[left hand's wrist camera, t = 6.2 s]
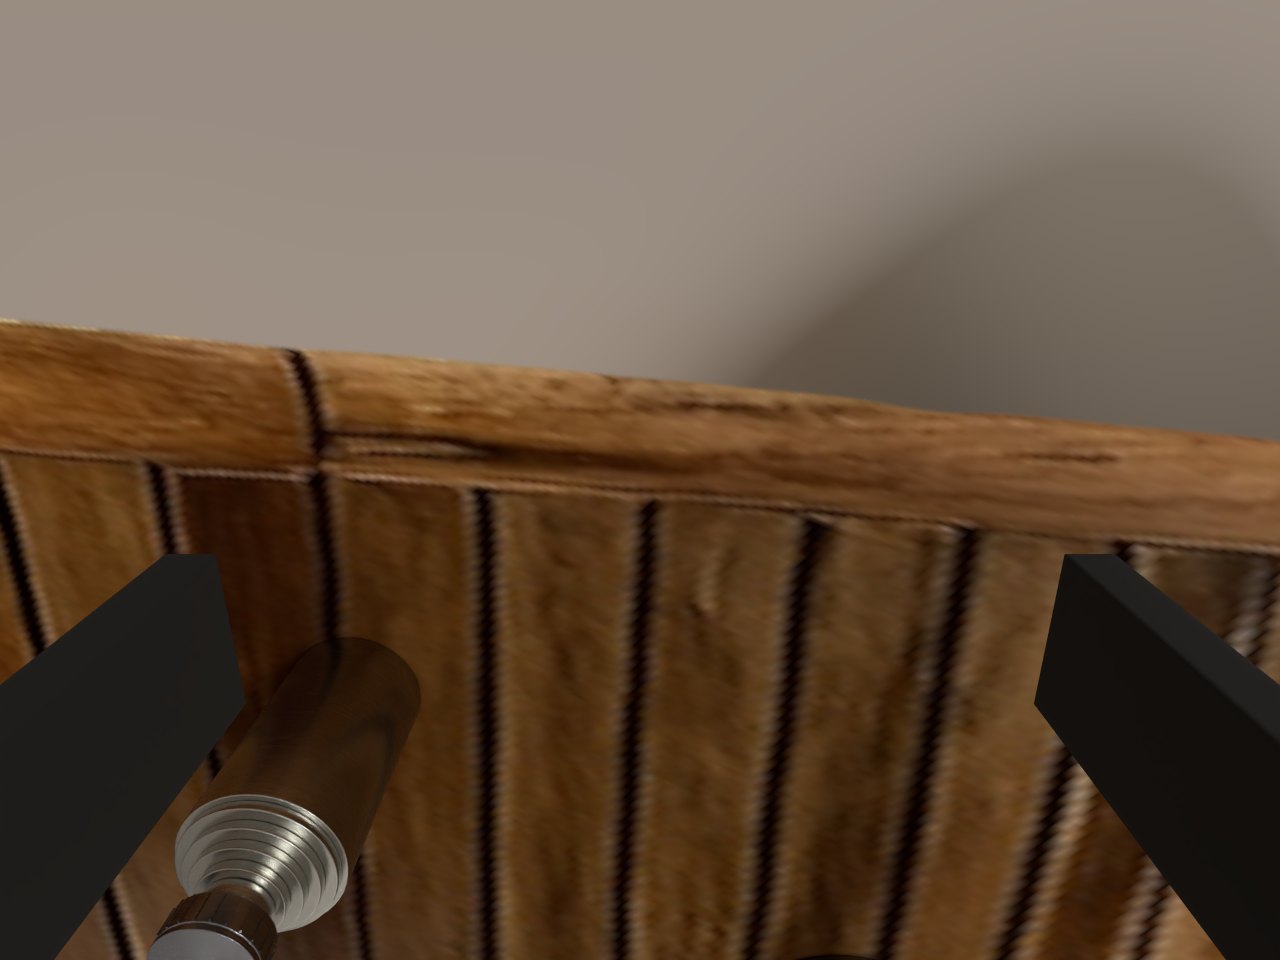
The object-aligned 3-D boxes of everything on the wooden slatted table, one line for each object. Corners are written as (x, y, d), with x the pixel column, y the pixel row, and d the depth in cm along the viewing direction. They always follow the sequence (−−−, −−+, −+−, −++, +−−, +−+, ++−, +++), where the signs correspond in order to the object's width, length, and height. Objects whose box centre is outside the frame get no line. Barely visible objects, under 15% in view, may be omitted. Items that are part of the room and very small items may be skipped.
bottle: (422, 749, 48) (314, 1033, 32) (296, 742, 48) (124, 1024, 32) (419, 641, 45) (298, 892, 29) (285, 633, 45) (91, 881, 29)
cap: (284, 971, 32) (265, 1013, 31) (177, 966, 32) (152, 1007, 31) (274, 892, 31) (254, 931, 29) (162, 886, 31) (136, 925, 29)
